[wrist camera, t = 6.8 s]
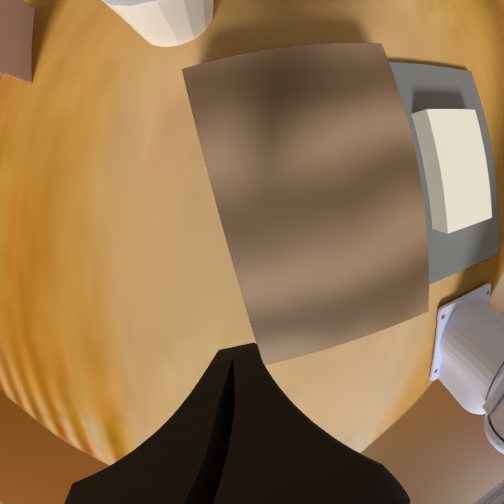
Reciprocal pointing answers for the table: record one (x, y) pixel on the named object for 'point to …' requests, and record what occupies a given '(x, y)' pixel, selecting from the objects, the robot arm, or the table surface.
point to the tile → (454, 167)
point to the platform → (314, 191)
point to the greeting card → (16, 39)
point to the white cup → (165, 19)
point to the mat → (414, 100)
